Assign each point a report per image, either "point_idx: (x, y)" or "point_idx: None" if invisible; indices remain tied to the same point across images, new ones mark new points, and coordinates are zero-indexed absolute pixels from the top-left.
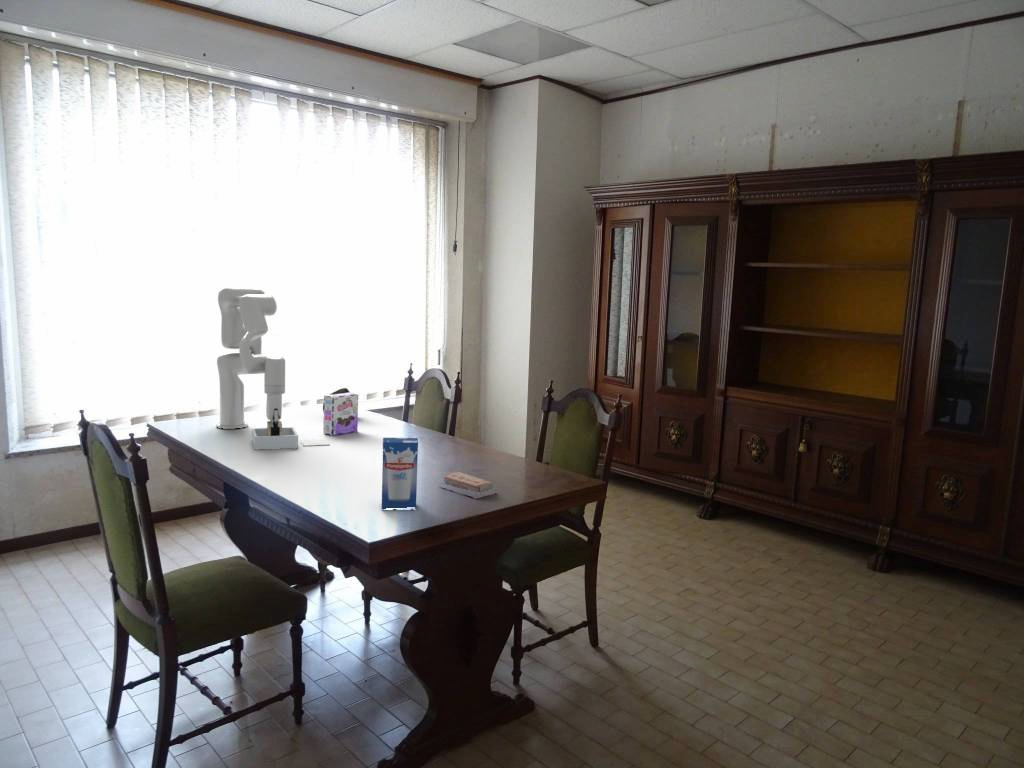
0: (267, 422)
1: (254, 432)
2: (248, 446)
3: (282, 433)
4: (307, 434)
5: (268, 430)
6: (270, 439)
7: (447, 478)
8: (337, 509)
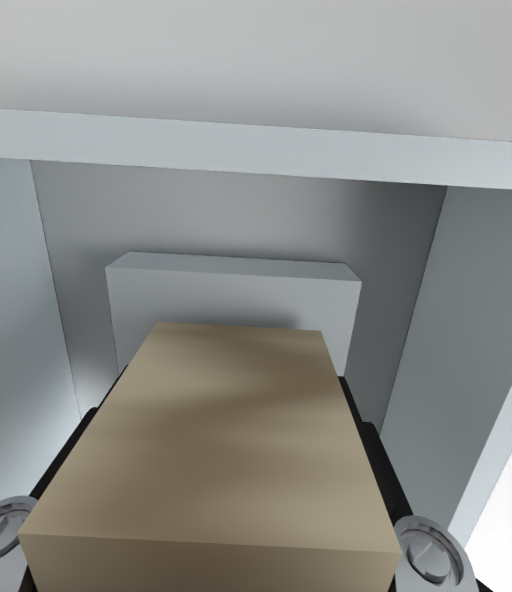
0: (299, 528)
1: (242, 150)
2: (209, 75)
3: (410, 477)
4: (498, 569)
5: (105, 400)
6: None
7: None
8: None
